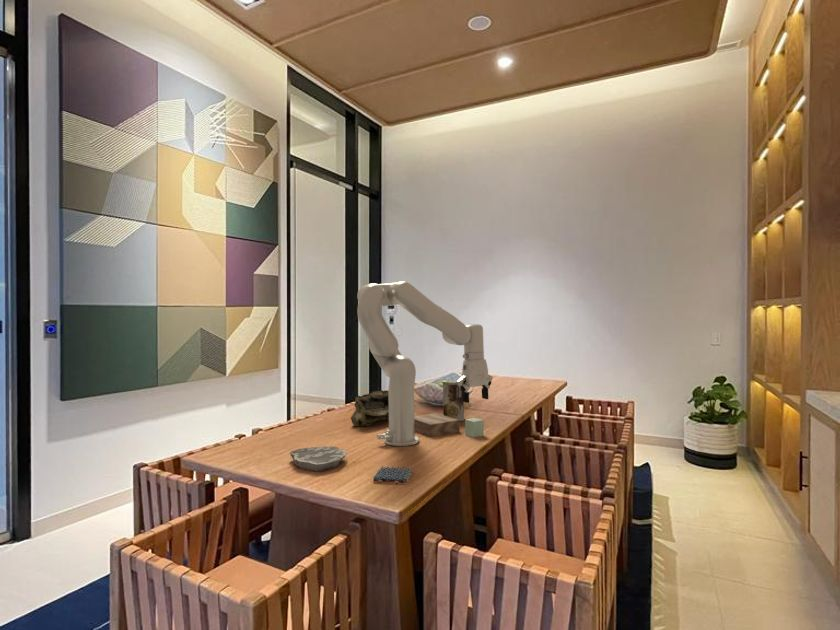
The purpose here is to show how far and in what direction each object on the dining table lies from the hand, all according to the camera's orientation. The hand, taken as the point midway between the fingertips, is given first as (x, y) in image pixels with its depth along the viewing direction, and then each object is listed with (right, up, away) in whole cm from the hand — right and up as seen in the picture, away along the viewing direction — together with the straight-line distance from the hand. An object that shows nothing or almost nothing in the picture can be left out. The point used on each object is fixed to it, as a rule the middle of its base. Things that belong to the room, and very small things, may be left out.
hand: (475, 400), depth 187 cm
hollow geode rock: (-40, -14, +24) cm, 49 cm away
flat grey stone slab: (-54, -15, -32) cm, 64 cm away
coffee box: (-7, -13, +27) cm, 31 cm away
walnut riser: (-16, -14, +9) cm, 23 cm away
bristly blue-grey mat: (-29, -15, -47) cm, 57 cm away
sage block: (-1, -13, 0) cm, 13 cm away
